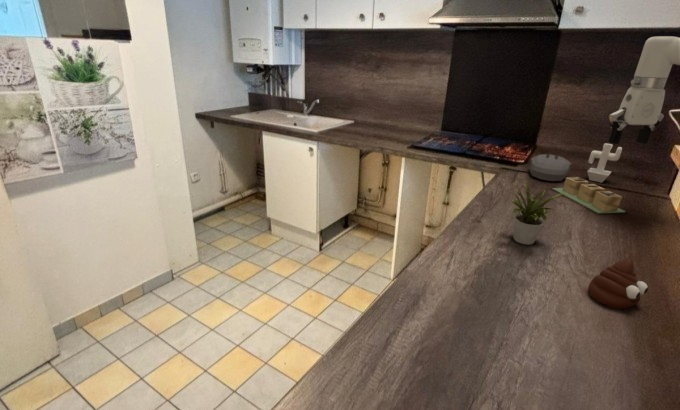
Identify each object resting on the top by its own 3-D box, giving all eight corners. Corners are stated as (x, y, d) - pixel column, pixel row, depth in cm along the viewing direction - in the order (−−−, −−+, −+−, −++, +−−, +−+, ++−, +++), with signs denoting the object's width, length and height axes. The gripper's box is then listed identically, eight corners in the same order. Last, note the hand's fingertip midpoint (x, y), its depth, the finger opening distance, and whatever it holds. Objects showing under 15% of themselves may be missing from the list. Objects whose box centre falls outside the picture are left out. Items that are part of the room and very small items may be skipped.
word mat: (575, 188, 136) (576, 187, 136) (625, 212, 116) (625, 211, 116) (551, 189, 135) (552, 188, 134) (597, 213, 115) (598, 212, 115)
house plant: (480, 236, 99) (492, 180, 92) (505, 222, 107) (517, 170, 101) (533, 258, 89) (550, 197, 82) (556, 241, 97) (572, 185, 91)
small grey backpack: (529, 166, 161) (524, 178, 145) (534, 148, 157) (529, 158, 142) (568, 172, 154) (567, 186, 138) (573, 153, 150) (573, 165, 135)
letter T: (604, 204, 121) (609, 190, 118) (617, 210, 116) (622, 196, 114) (591, 205, 120) (596, 190, 118) (603, 211, 115) (608, 196, 113)
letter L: (574, 189, 133) (578, 176, 131) (584, 194, 129) (589, 181, 127) (562, 190, 133) (566, 176, 131) (572, 195, 128) (576, 181, 126)
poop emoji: (604, 280, 81) (617, 244, 77) (648, 302, 74) (665, 264, 70) (578, 292, 76) (591, 255, 73) (622, 317, 70) (639, 277, 66)
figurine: (585, 175, 151) (596, 140, 145) (612, 180, 145) (624, 144, 139) (581, 179, 146) (592, 143, 140) (609, 185, 140) (621, 147, 134)
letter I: (589, 196, 127) (593, 183, 125) (600, 202, 122) (605, 188, 120) (576, 197, 126) (580, 183, 124) (587, 203, 122) (592, 188, 120)
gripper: (632, 85, 98) (612, 146, 105) (687, 85, 100) (663, 145, 107) (610, 82, 104) (592, 140, 111) (661, 83, 107) (641, 139, 114)
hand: (627, 142), depth 109 cm, fingers open, 9 cm apart
